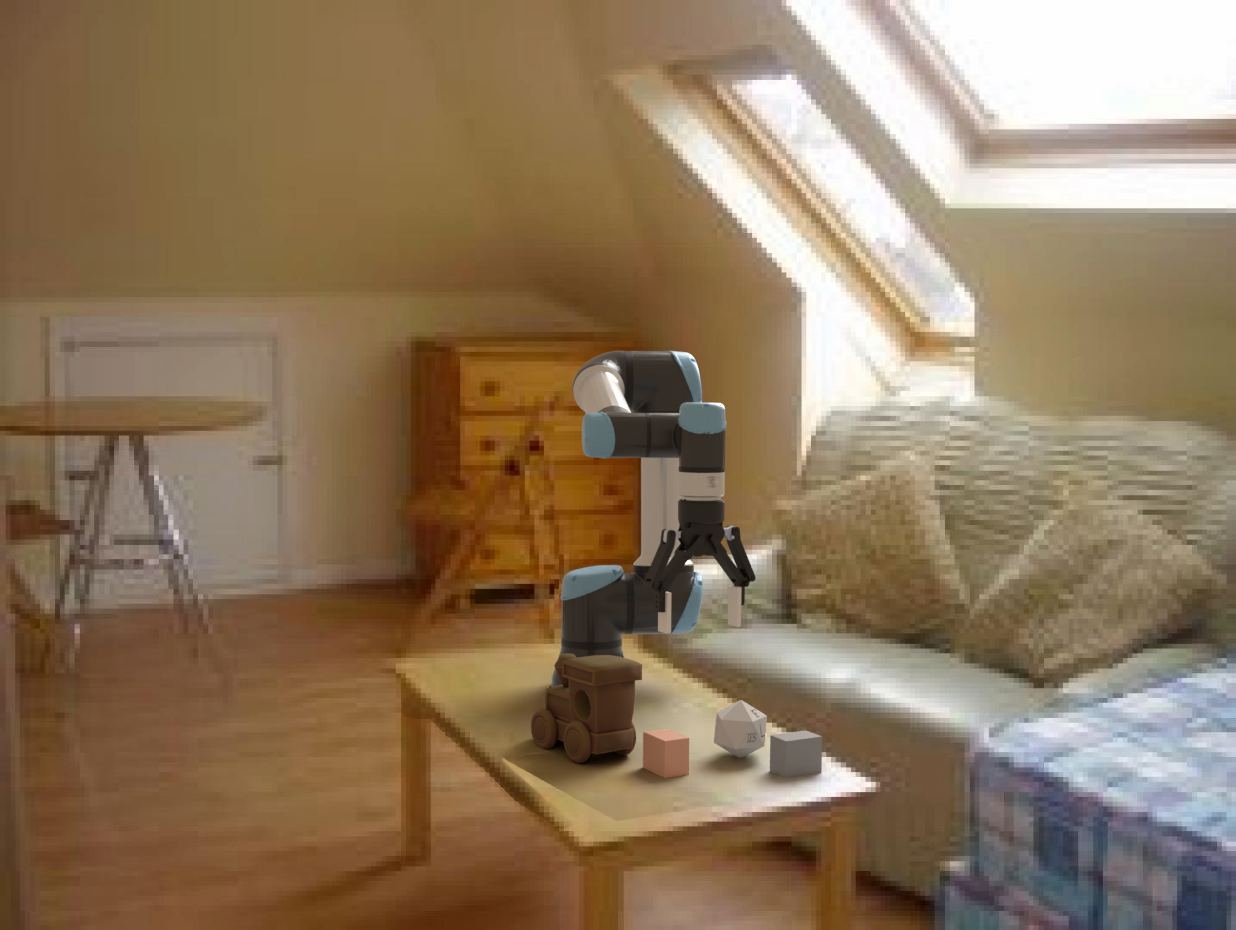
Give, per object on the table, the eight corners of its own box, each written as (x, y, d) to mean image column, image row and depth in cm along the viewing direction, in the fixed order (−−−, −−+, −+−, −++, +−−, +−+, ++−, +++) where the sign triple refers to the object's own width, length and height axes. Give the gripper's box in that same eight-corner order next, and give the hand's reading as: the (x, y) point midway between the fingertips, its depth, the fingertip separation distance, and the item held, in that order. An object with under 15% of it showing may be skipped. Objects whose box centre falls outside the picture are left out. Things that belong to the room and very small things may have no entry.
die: (752, 768, 245) (753, 707, 245) (704, 760, 250) (704, 701, 250) (775, 757, 253) (776, 698, 252) (728, 749, 257) (728, 691, 257)
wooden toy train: (646, 761, 249) (647, 662, 248) (589, 771, 243) (589, 669, 242) (579, 736, 266) (580, 643, 265) (524, 745, 259) (524, 649, 258)
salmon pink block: (642, 768, 245) (643, 731, 245) (666, 764, 248) (667, 728, 247) (664, 778, 239) (665, 741, 239) (688, 775, 241) (689, 738, 241)
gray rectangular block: (769, 771, 244) (770, 735, 243) (805, 766, 247) (805, 730, 247) (785, 778, 240) (786, 741, 239) (821, 773, 243) (822, 736, 243)
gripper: (648, 502, 233) (646, 638, 234) (777, 497, 245) (775, 626, 247) (623, 499, 239) (621, 631, 240) (750, 493, 252) (749, 619, 253)
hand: (699, 629), depth 243 cm, fingers open, 13 cm apart
